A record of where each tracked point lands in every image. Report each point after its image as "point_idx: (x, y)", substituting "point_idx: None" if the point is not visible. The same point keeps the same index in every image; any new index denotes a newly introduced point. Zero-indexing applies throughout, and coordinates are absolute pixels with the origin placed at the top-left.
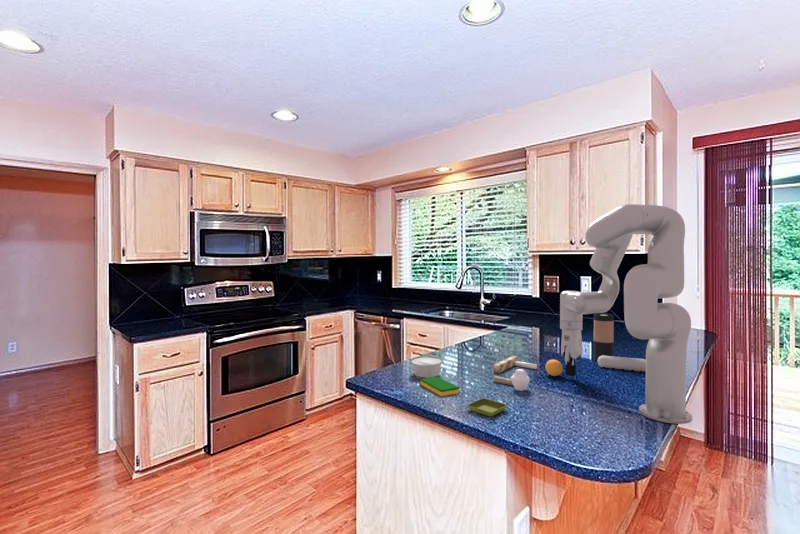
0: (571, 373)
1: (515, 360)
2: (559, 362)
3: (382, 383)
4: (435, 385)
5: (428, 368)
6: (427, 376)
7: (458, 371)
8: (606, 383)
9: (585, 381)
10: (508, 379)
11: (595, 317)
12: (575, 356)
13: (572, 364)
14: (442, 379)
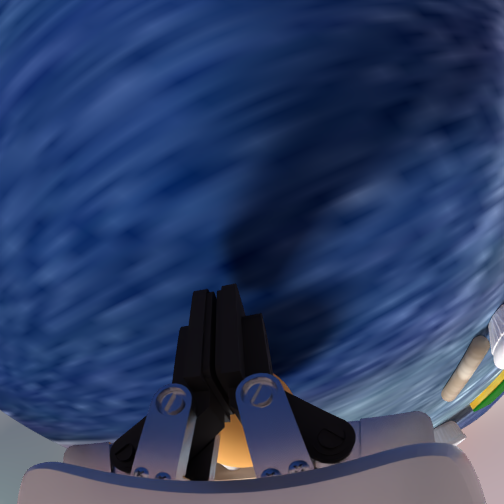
0: (260, 315)
1: (223, 470)
2: (229, 442)
3: (486, 406)
4: None
5: (462, 433)
6: (454, 422)
7: None
8: (85, 52)
9: (176, 190)
10: (473, 372)
11: None
12: (442, 470)
13: (282, 390)
14: (490, 397)
